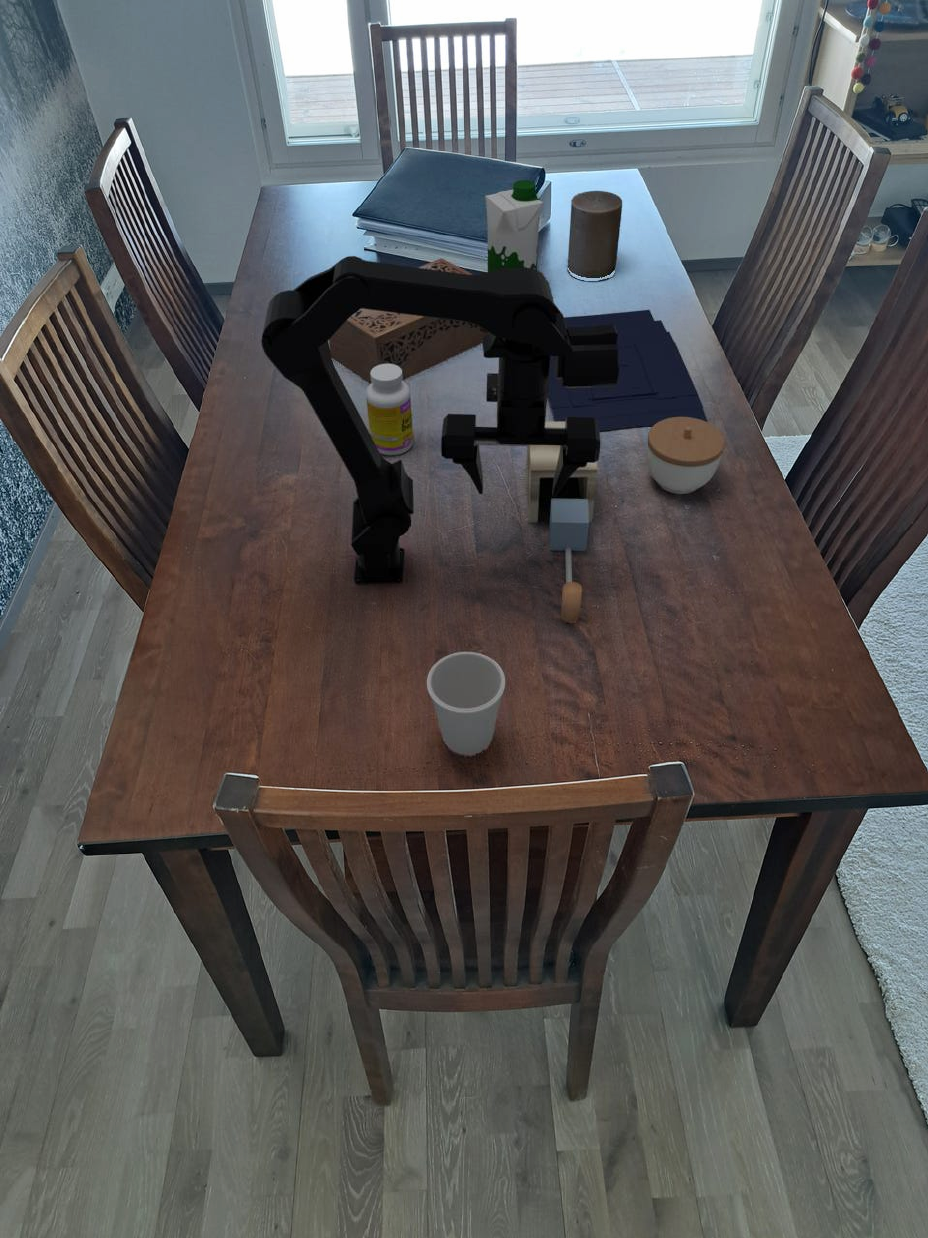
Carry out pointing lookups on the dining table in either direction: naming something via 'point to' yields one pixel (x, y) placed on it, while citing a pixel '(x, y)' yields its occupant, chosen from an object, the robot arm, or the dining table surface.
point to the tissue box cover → (402, 338)
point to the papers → (631, 378)
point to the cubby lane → (544, 466)
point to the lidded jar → (683, 453)
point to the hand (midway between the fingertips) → (517, 493)
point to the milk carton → (513, 227)
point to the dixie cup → (466, 699)
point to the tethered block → (569, 546)
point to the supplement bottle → (389, 410)
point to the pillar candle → (594, 233)
